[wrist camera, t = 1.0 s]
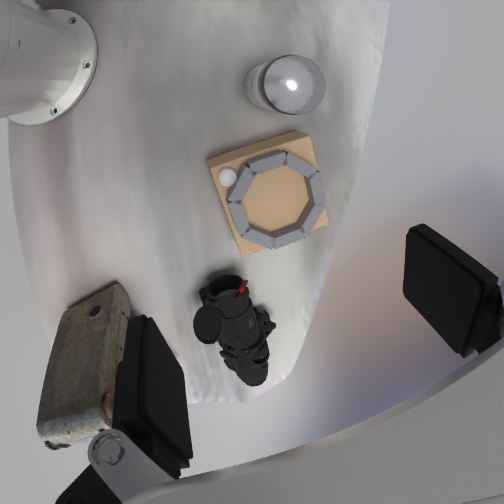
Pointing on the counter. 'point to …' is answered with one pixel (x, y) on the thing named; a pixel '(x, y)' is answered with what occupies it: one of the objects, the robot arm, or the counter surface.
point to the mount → (270, 191)
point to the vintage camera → (84, 370)
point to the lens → (286, 85)
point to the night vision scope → (235, 327)
